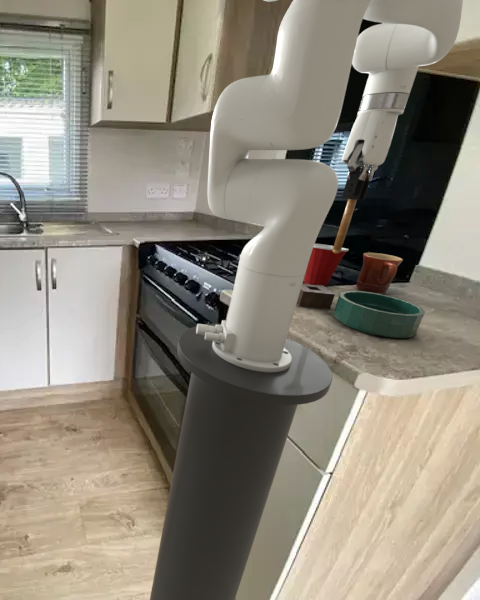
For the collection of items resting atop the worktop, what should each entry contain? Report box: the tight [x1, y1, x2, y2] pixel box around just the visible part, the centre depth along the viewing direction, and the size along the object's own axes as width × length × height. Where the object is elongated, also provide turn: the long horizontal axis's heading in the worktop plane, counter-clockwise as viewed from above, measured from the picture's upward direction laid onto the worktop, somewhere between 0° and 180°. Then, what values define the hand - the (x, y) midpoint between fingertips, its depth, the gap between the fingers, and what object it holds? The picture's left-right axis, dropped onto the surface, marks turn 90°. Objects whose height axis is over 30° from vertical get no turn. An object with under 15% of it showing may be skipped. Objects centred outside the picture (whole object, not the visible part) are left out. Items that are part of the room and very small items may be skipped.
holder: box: [296, 283, 336, 310], centre depth 90 cm, size 7×7×4 cm
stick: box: [333, 173, 367, 253], centre depth 80 cm, size 2×2×18 cm
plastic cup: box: [303, 243, 349, 288], centre depth 105 cm, size 11×11×12 cm
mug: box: [355, 252, 404, 295], centre depth 99 cm, size 12×9×10 cm
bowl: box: [333, 290, 426, 339], centre depth 78 cm, size 15×15×6 cm
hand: (353, 198), depth 79 cm, fingers closed on stick, 2 cm apart
